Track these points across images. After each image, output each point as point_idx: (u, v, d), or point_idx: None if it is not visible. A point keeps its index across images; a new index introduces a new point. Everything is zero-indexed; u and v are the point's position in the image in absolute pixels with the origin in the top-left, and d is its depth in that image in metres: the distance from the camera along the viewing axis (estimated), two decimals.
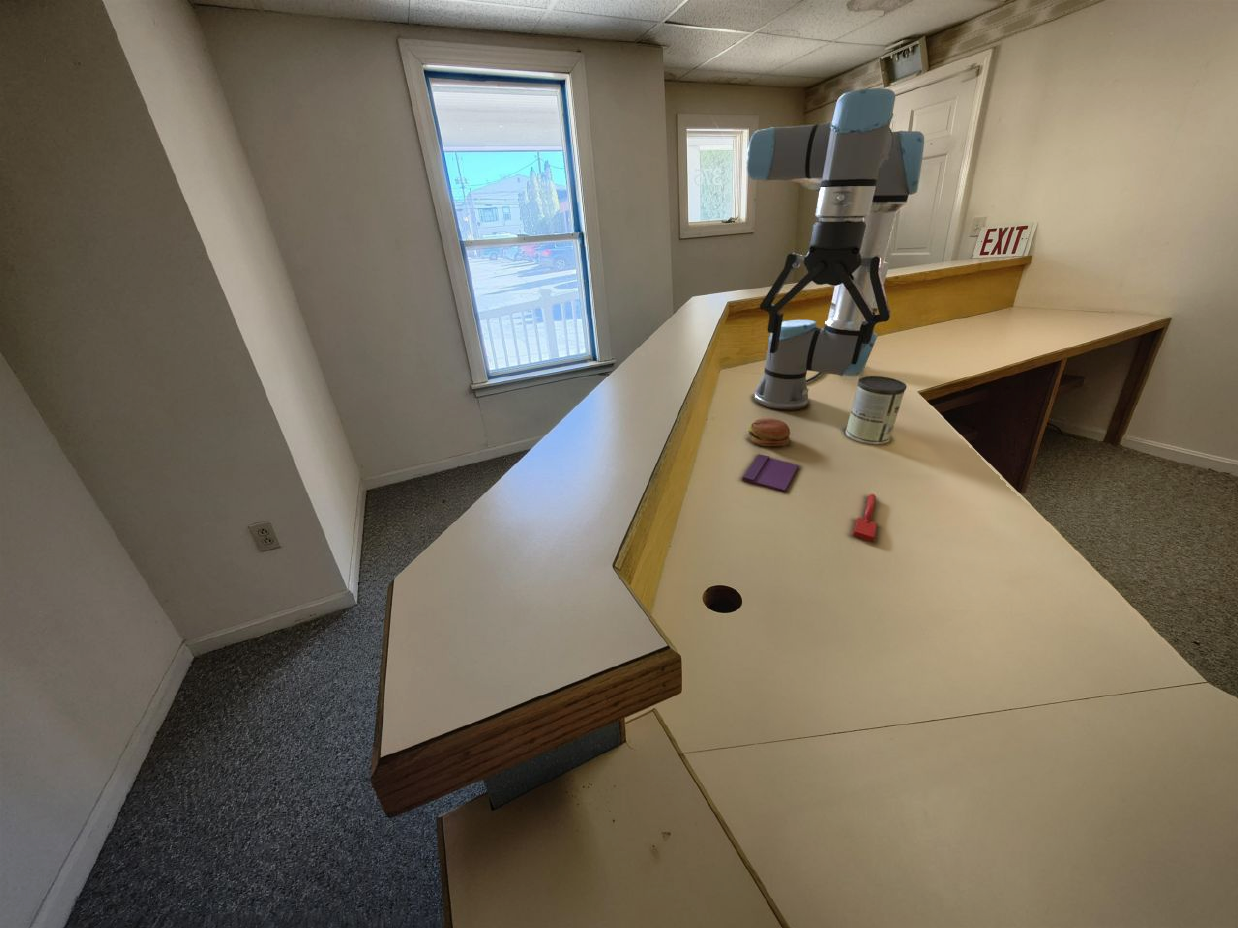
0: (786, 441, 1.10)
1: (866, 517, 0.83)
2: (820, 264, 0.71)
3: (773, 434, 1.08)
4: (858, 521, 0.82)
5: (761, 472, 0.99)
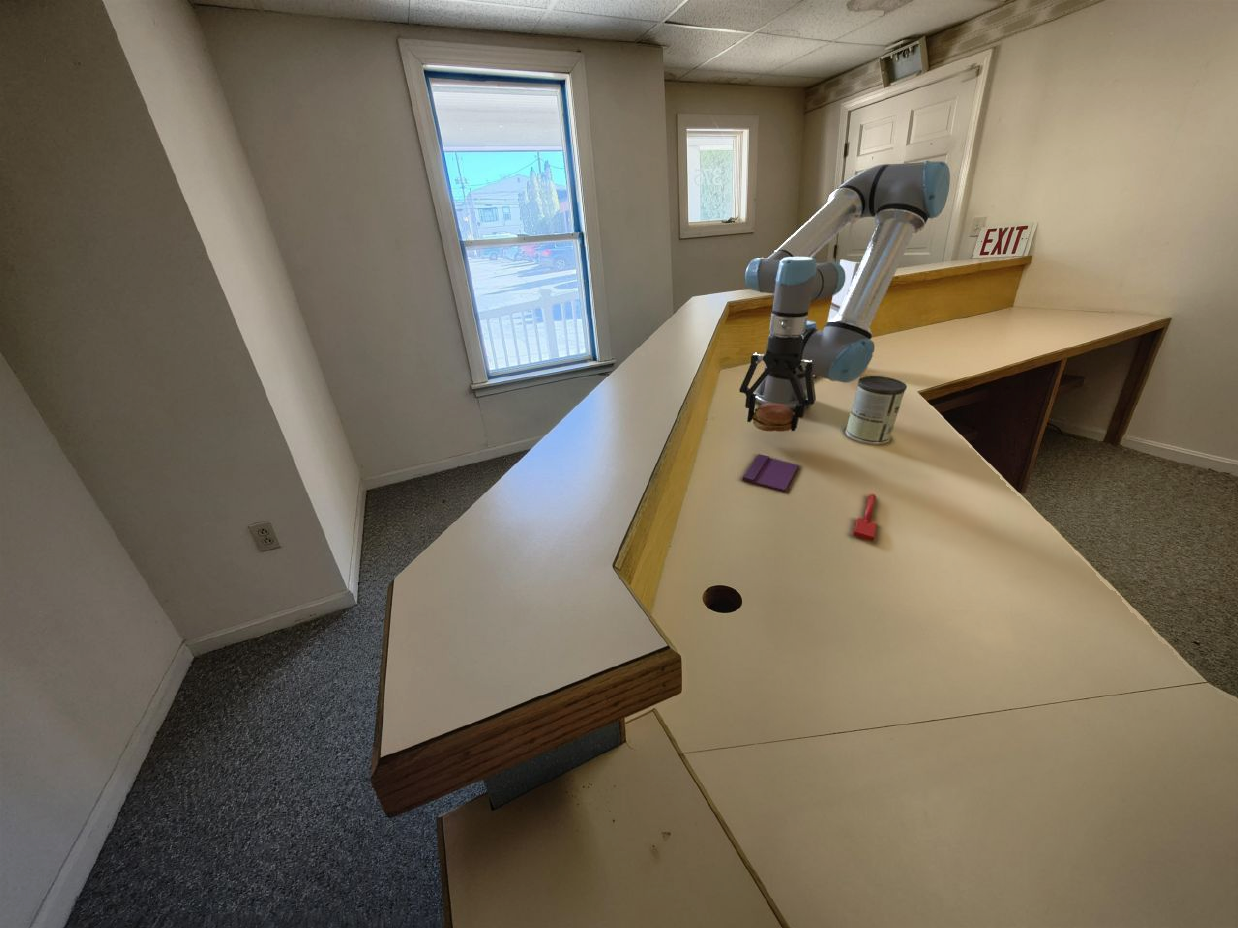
0: (790, 426, 1.08)
1: (866, 517, 0.83)
2: (773, 362, 1.03)
3: (777, 418, 1.07)
4: (858, 521, 0.82)
5: (761, 472, 0.99)
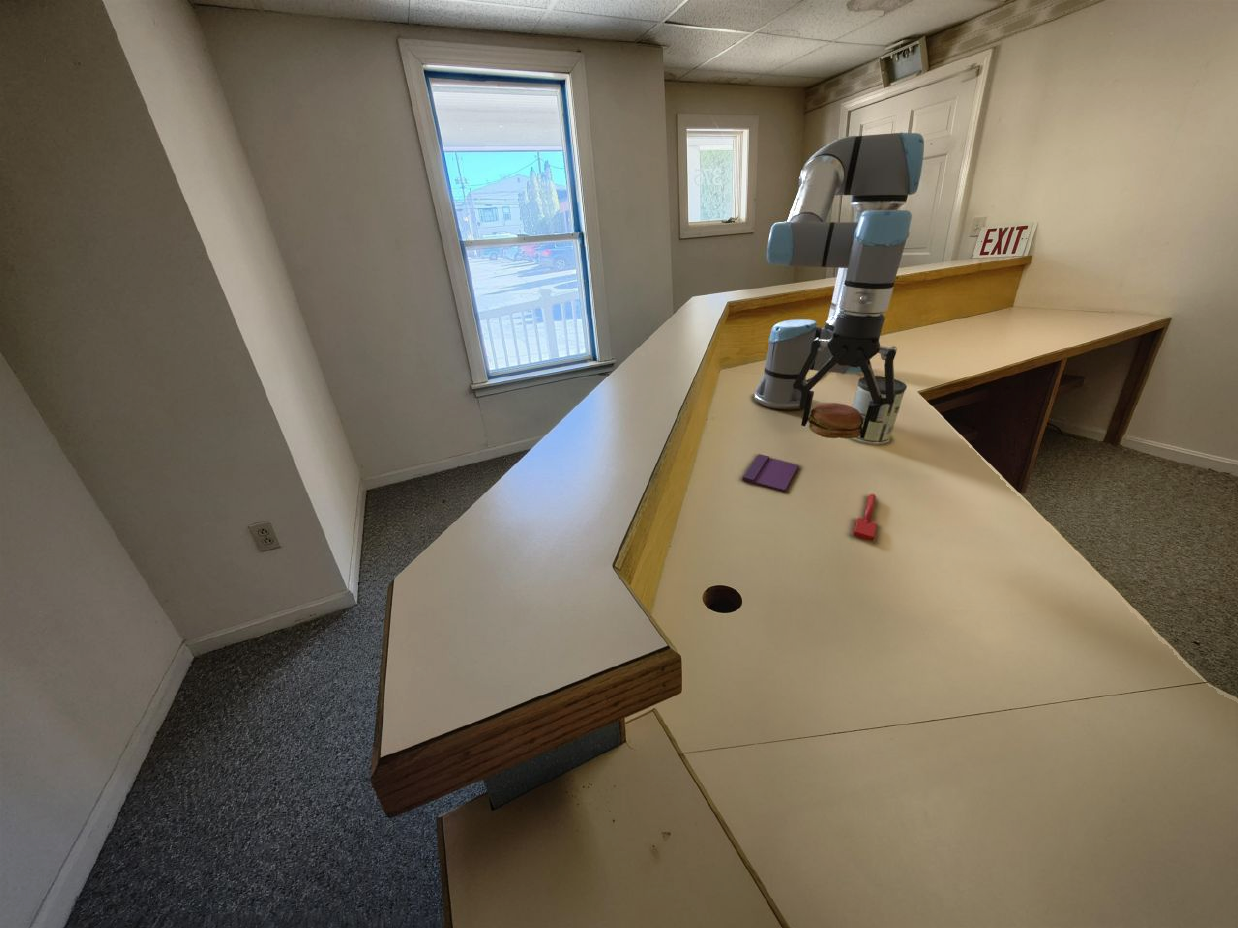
0: (859, 431, 0.85)
1: (866, 517, 0.83)
2: (842, 349, 0.80)
3: (843, 421, 0.84)
4: (858, 521, 0.82)
5: (761, 472, 0.99)
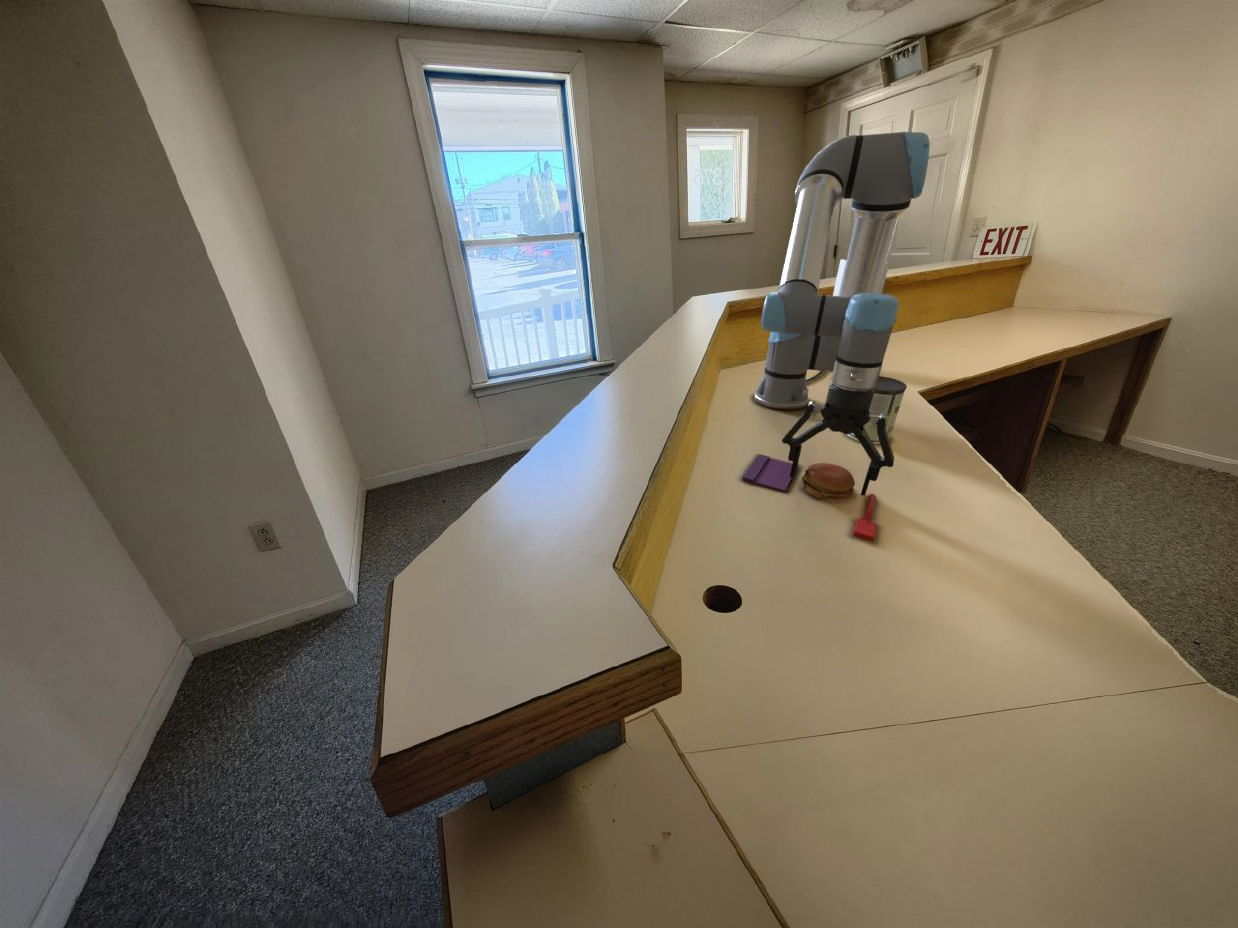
0: (851, 494, 0.90)
1: (866, 517, 0.83)
2: (835, 418, 0.85)
3: (835, 485, 0.88)
4: (858, 521, 0.82)
5: (761, 472, 0.99)
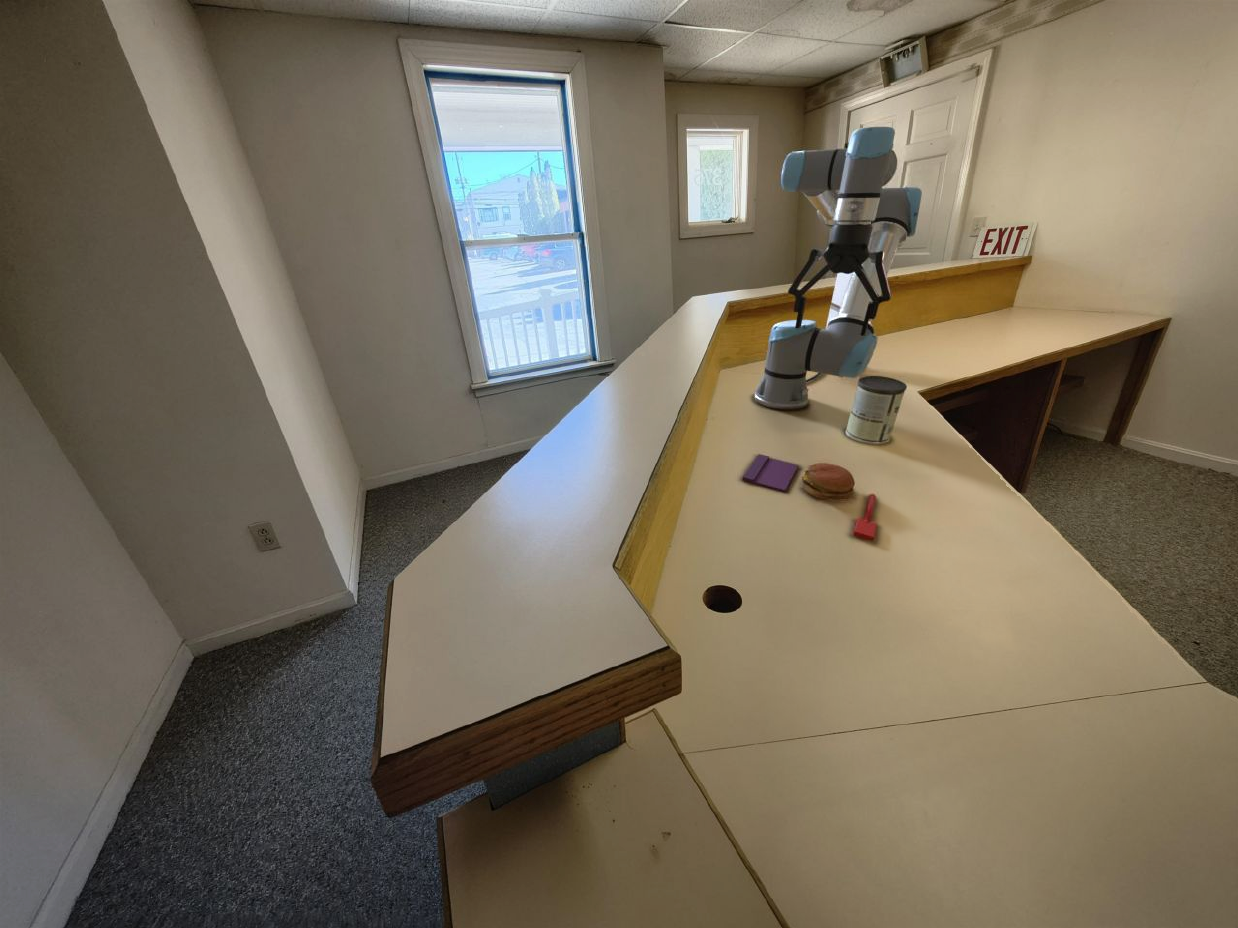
0: (851, 494, 0.90)
1: (866, 517, 0.83)
2: (837, 257, 0.93)
3: (835, 485, 0.88)
4: (858, 521, 0.82)
5: (761, 472, 0.99)
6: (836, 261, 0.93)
